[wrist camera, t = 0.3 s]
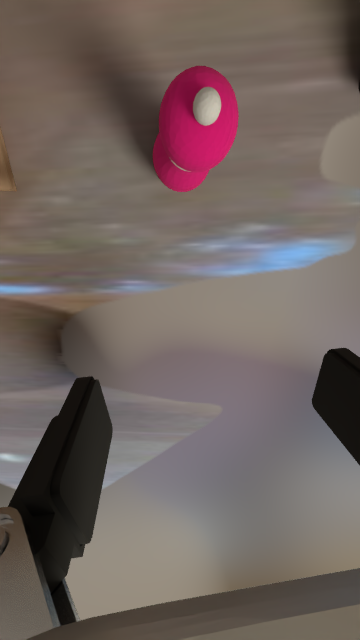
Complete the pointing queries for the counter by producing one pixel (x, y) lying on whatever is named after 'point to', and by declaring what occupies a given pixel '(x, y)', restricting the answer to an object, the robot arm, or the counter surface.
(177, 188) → the pepper mill
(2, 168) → the board
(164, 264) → the counter surface
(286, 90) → the counter surface
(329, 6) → the counter surface
